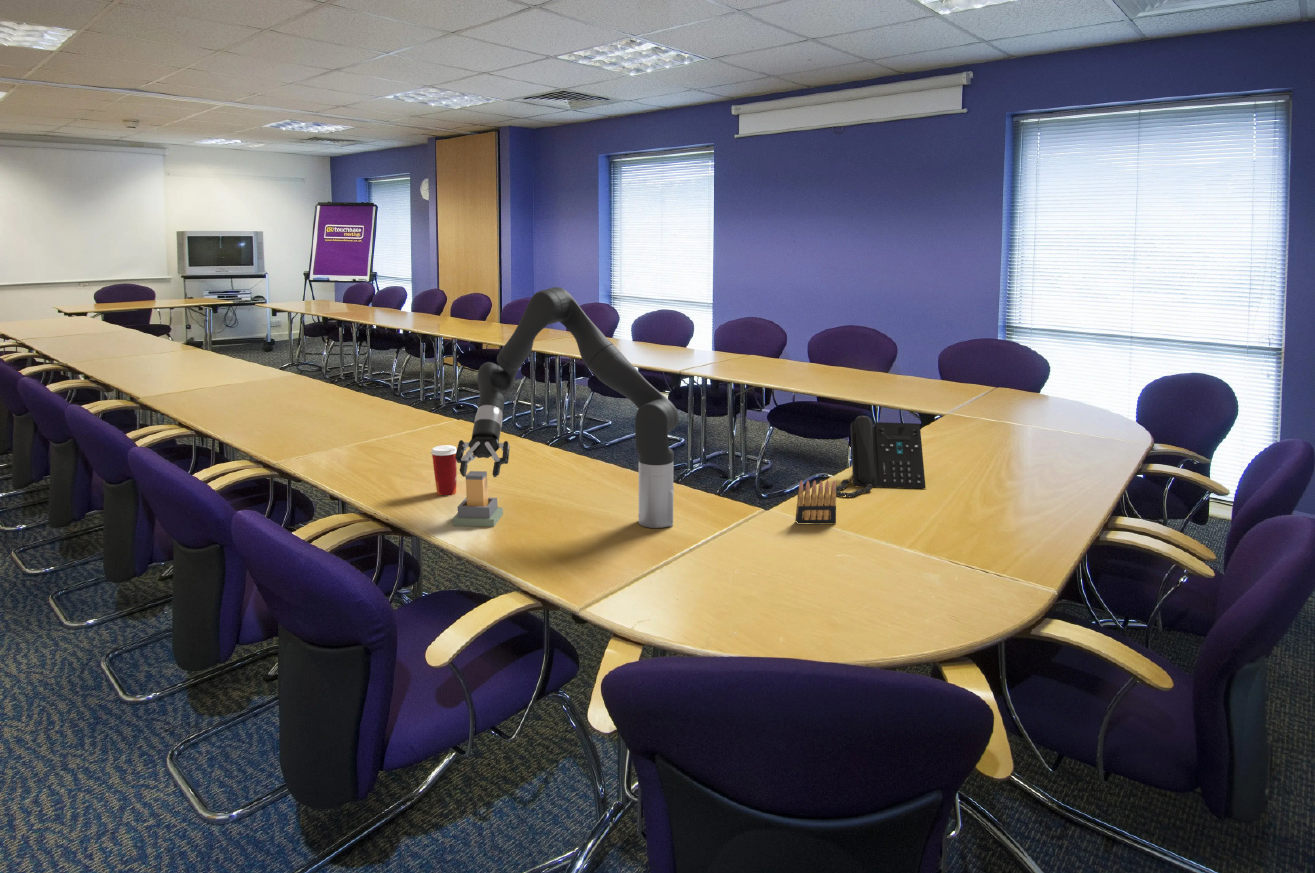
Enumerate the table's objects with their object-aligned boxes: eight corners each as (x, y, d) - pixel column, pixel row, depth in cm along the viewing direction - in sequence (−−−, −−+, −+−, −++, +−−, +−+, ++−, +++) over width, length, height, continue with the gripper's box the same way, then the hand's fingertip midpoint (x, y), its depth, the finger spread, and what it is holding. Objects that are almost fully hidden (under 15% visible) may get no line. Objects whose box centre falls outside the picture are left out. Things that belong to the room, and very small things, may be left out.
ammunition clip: (834, 521, 218) (836, 479, 215) (836, 523, 216) (838, 481, 213) (795, 522, 218) (797, 479, 215) (796, 524, 216) (798, 481, 213)
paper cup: (465, 492, 242) (462, 446, 239) (446, 498, 236) (443, 452, 232) (447, 487, 246) (444, 443, 243) (427, 494, 240) (424, 448, 236)
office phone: (833, 498, 239) (837, 432, 234) (823, 472, 266) (826, 412, 262) (934, 501, 236) (940, 434, 232) (913, 474, 264) (918, 414, 259)
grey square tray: (503, 514, 222) (502, 497, 221) (493, 526, 213) (493, 508, 211) (463, 513, 223) (462, 496, 222) (452, 525, 213) (451, 507, 212)
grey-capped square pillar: (488, 510, 219) (486, 471, 217) (484, 515, 215) (482, 476, 212) (472, 509, 220) (470, 471, 217) (467, 515, 215) (465, 475, 213)
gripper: (459, 417, 223) (449, 468, 214) (510, 418, 222) (502, 469, 214) (465, 431, 229) (456, 481, 221) (515, 432, 229) (507, 482, 220)
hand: (478, 475), depth 217 cm, fingers open, 8 cm apart
